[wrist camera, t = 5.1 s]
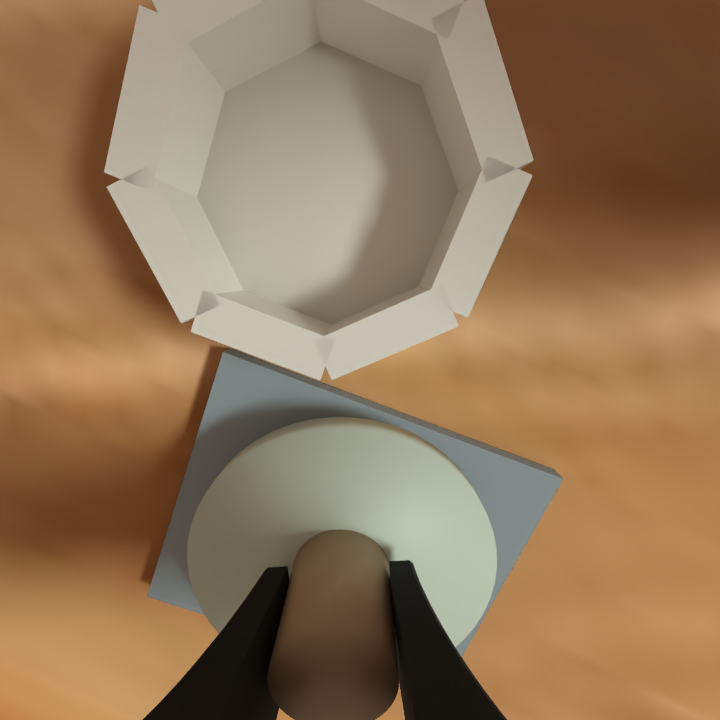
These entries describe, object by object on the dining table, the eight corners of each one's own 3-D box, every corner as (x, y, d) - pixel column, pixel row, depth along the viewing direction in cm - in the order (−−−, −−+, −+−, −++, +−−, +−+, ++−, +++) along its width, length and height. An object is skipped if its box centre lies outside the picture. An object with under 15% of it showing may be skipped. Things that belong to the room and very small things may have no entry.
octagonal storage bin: (532, 102, 11) (595, 37, 8) (408, 384, 13) (421, 418, 10) (230, -34, 10) (174, -159, 7) (149, 285, 12) (78, 290, 9)
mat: (554, 469, 13) (563, 478, 13) (439, 675, 15) (442, 691, 15) (229, 348, 12) (223, 351, 12) (155, 583, 15) (146, 596, 14)
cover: (494, 410, 11) (564, 489, 7) (484, 659, 13) (531, 818, 10) (175, 423, 11) (76, 506, 7) (220, 665, 14) (163, 824, 10)
